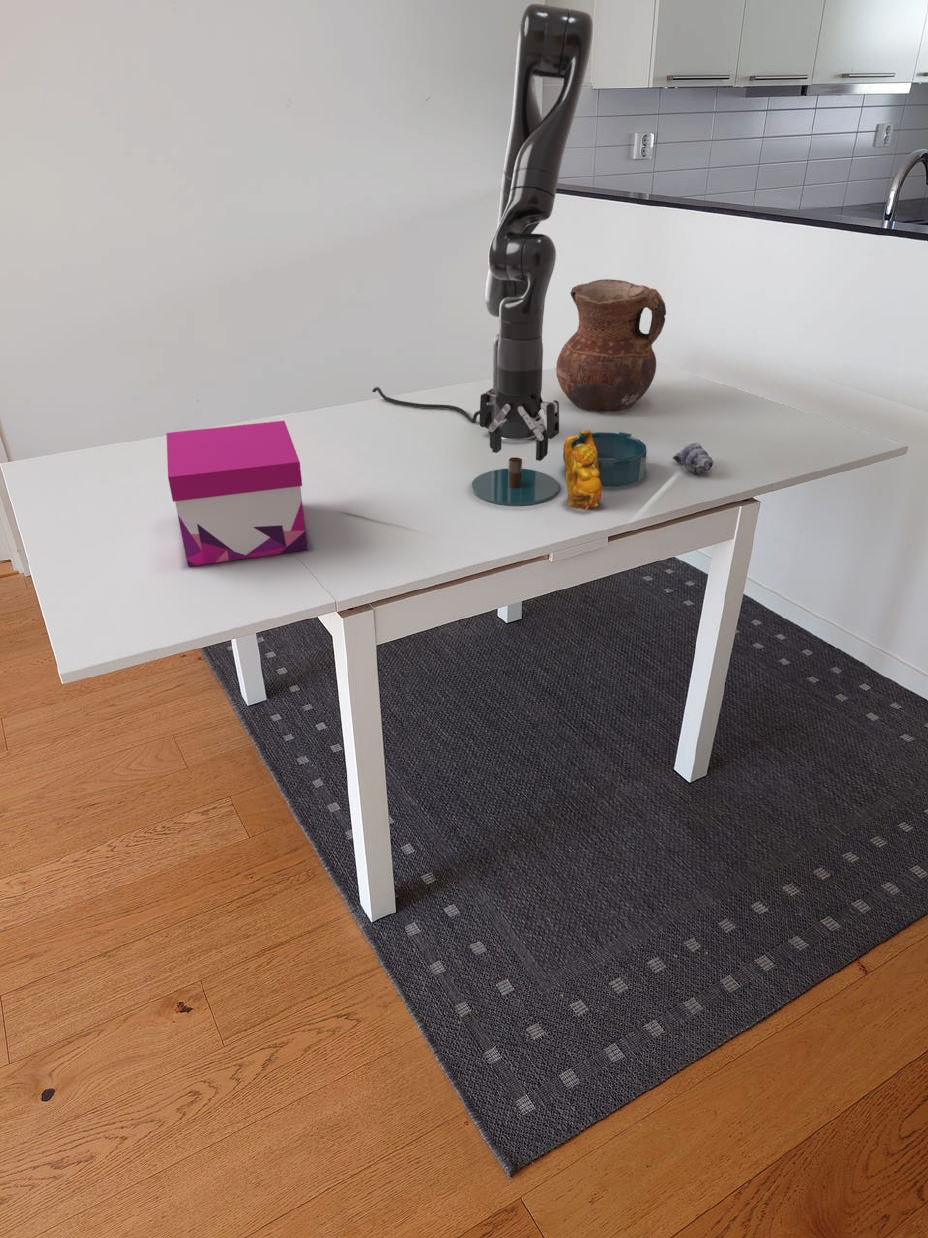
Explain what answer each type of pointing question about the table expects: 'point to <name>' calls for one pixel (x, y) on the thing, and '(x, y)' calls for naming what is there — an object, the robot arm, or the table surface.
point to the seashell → (694, 458)
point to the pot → (618, 458)
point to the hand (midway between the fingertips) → (518, 455)
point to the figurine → (582, 472)
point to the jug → (610, 345)
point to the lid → (514, 485)
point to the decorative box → (236, 492)
